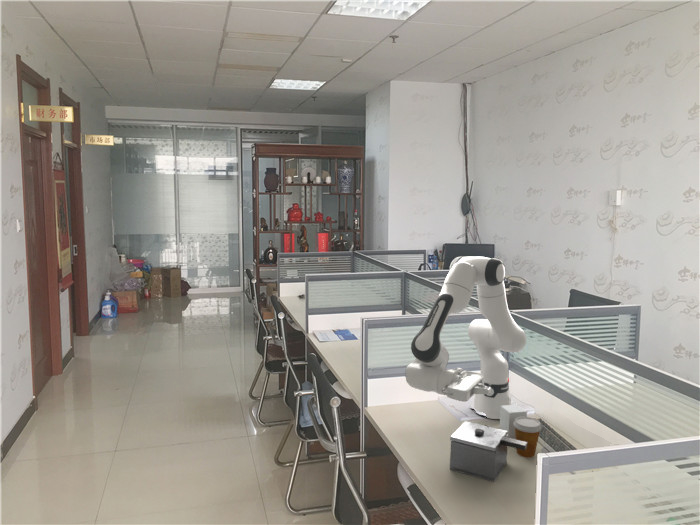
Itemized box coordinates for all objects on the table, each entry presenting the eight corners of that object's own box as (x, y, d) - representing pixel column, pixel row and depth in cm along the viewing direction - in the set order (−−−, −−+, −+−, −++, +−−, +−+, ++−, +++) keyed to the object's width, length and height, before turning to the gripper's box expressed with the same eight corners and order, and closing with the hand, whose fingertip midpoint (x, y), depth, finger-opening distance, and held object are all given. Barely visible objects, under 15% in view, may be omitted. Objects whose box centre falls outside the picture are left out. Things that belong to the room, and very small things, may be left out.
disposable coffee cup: (541, 451, 204) (543, 419, 203) (537, 462, 196) (539, 429, 194) (514, 445, 209) (516, 414, 207) (509, 456, 200) (511, 423, 199)
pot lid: (465, 424, 201) (465, 418, 201) (531, 439, 190) (531, 433, 190) (450, 440, 189) (450, 433, 188) (520, 457, 177) (520, 451, 177)
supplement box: (525, 444, 210) (527, 411, 208) (507, 445, 208) (509, 412, 207) (516, 435, 217) (518, 404, 215) (498, 436, 215) (500, 405, 214)
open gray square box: (464, 451, 203) (465, 425, 201) (506, 462, 195) (508, 435, 194) (449, 469, 190) (451, 441, 189) (493, 481, 182) (495, 452, 181)
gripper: (439, 382, 185) (480, 391, 178) (460, 366, 203) (498, 373, 196) (438, 401, 186) (479, 410, 179) (459, 383, 204) (497, 390, 197)
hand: (489, 390), depth 188 cm, fingers closed
